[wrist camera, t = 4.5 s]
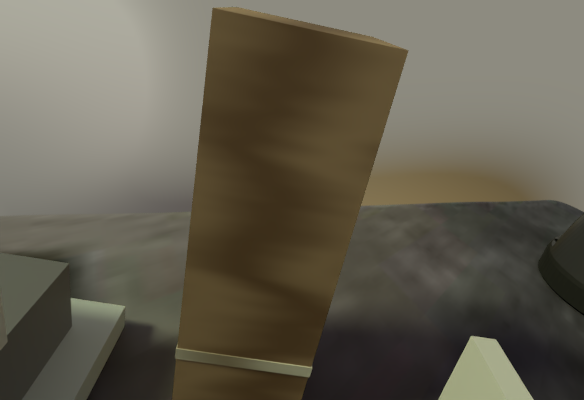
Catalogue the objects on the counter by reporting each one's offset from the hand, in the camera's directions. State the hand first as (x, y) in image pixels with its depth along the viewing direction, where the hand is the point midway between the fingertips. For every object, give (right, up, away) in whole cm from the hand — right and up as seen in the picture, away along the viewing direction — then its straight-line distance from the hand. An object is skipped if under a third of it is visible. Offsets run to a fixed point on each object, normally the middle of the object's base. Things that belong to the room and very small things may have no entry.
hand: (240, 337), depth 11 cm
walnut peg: (-1, -6, +11) cm, 12 cm away
